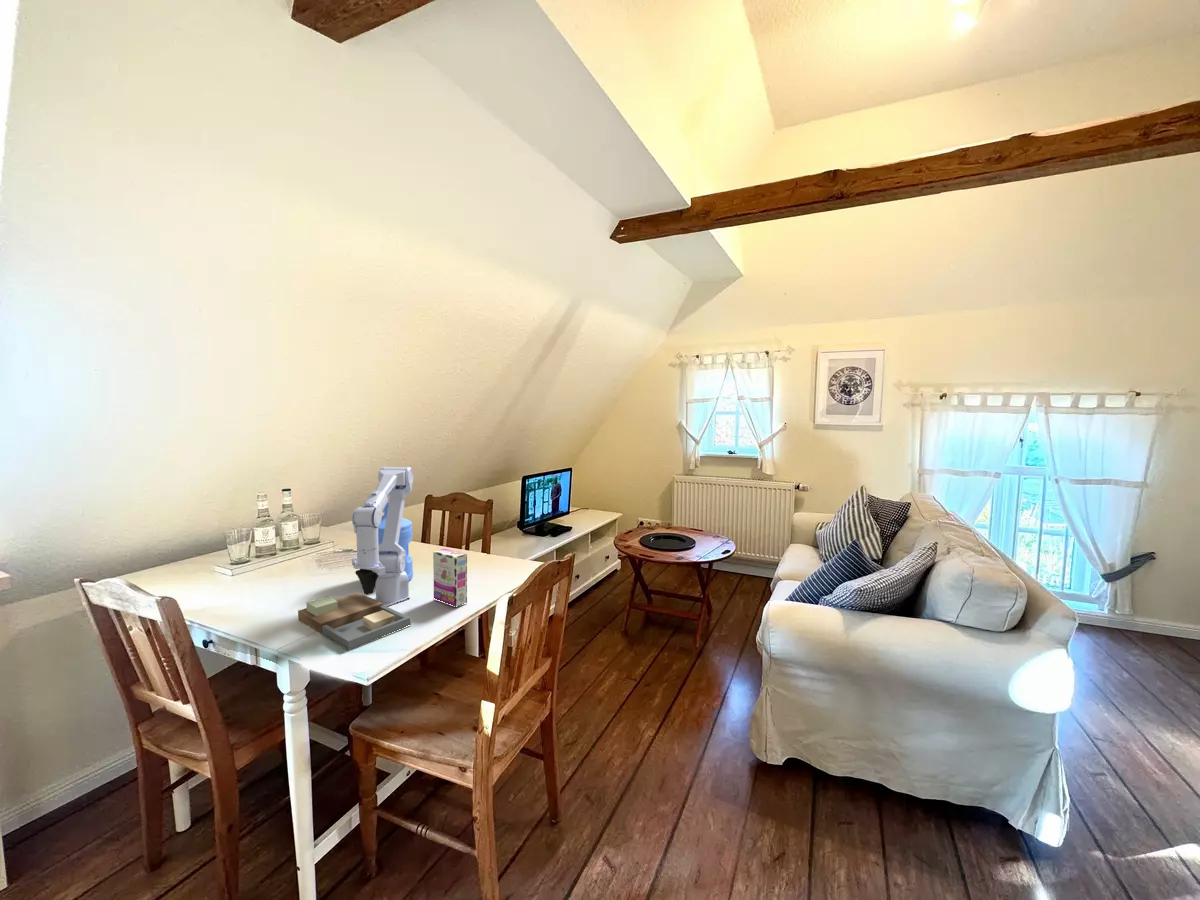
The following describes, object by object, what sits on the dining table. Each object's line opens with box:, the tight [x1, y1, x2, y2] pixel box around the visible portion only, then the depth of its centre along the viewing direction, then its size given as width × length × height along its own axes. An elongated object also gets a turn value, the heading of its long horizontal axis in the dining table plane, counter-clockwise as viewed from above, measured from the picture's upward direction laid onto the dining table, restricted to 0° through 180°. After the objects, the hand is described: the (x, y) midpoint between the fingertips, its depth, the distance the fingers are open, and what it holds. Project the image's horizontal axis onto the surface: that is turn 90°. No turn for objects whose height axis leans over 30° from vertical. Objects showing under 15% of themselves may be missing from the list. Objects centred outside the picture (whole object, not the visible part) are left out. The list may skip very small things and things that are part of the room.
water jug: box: [375, 502, 414, 587], centre depth 176 cm, size 16×16×28 cm
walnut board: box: [297, 592, 383, 635], centre depth 147 cm, size 18×14×3 cm
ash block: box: [363, 610, 395, 630], centre depth 141 cm, size 6×6×2 cm
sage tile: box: [306, 596, 338, 616], centre depth 144 cm, size 6×6×2 cm
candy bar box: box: [432, 548, 468, 608], centre depth 159 cm, size 11×5×16 cm, turn 56°
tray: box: [321, 605, 412, 651], centre depth 138 cm, size 18×14×2 cm
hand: (368, 593), depth 143 cm, fingers closed
